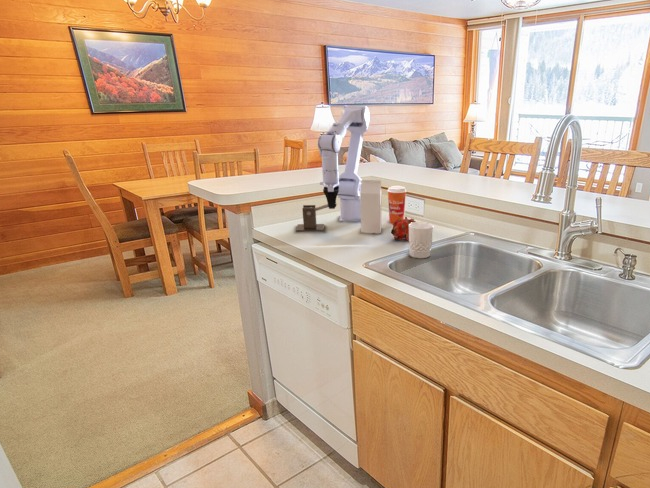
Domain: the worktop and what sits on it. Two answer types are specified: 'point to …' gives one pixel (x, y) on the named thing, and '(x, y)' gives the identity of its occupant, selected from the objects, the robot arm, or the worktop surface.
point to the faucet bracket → (309, 220)
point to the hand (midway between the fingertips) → (332, 207)
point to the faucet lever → (321, 207)
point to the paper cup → (396, 202)
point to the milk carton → (370, 206)
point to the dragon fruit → (401, 228)
